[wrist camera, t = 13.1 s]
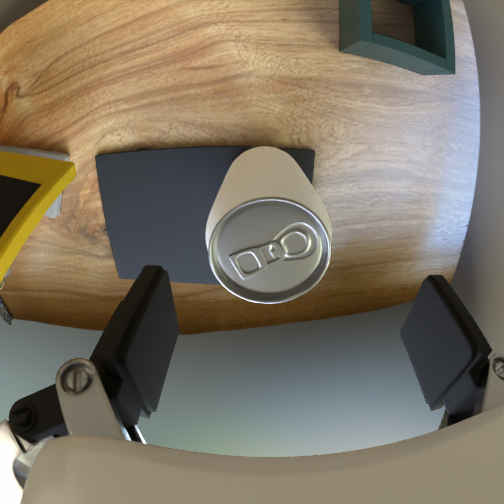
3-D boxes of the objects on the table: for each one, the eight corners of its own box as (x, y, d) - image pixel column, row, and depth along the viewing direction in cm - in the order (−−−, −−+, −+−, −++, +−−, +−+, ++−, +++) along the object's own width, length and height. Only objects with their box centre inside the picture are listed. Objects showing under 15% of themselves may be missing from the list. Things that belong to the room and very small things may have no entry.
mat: (314, 150, 21) (315, 151, 21) (297, 284, 29) (298, 287, 28) (97, 154, 21) (94, 156, 21) (121, 275, 29) (119, 278, 28)
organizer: (420, 3, 12) (448, -8, 8) (423, 75, 17) (455, 74, 12) (337, -24, 12) (353, -46, 8) (339, 51, 17) (359, 40, 12)
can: (314, 199, 23) (355, 281, 13) (248, 228, 25) (241, 324, 14) (282, 132, 20) (309, 161, 10) (213, 166, 22) (171, 228, 12)
